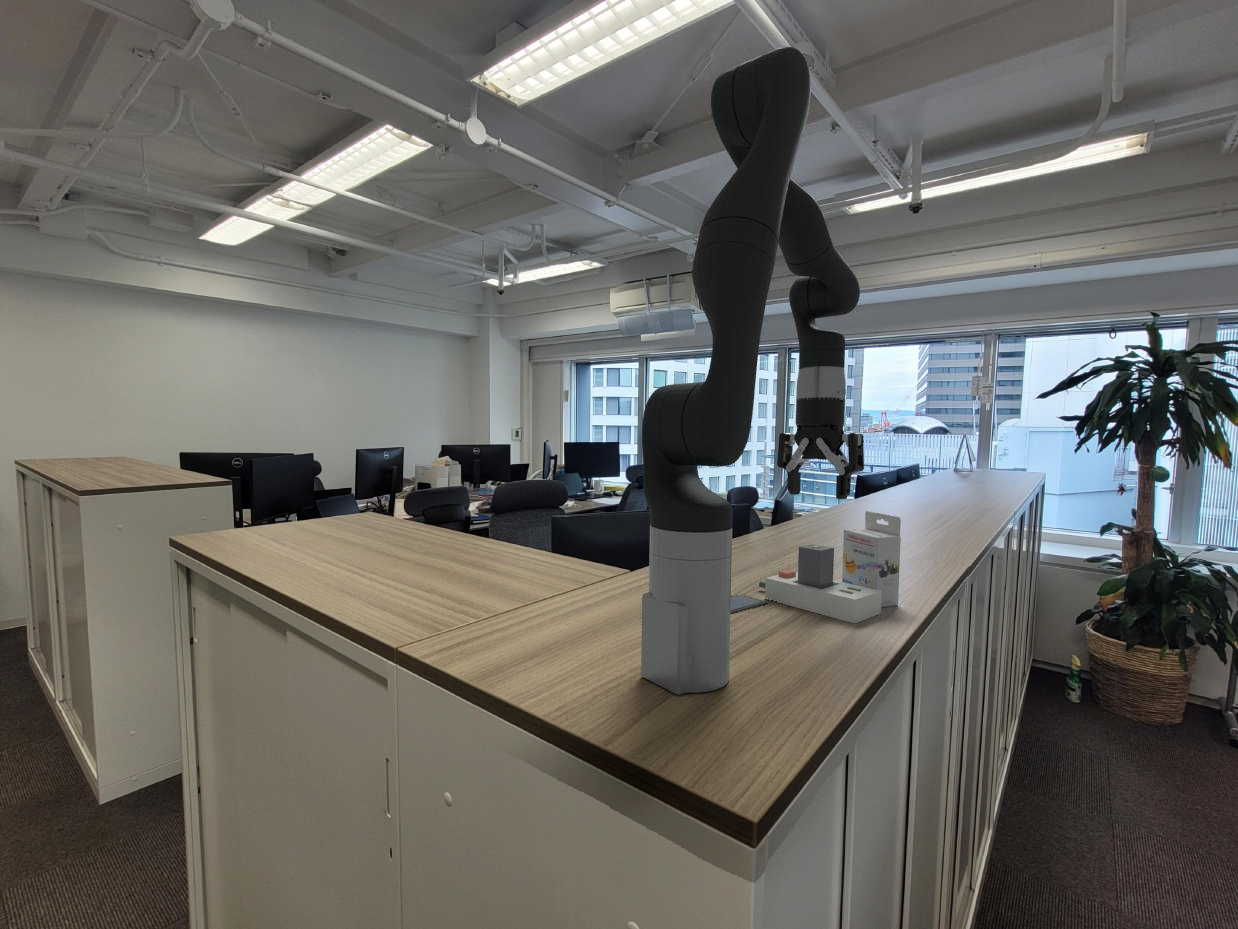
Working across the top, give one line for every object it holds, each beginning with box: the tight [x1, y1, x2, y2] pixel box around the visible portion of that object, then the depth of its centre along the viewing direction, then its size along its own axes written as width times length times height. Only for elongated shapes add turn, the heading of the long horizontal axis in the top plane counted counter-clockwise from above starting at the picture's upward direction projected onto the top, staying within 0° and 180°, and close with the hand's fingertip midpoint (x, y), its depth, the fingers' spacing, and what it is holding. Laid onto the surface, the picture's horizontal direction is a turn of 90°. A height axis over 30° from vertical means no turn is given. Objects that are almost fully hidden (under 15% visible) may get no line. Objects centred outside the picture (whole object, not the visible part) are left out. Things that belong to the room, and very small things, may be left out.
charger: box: [797, 543, 835, 589], centre depth 92 cm, size 4×4×9 cm
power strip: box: [758, 569, 882, 624], centre depth 93 cm, size 8×20×4 cm, turn 39°
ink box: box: [841, 510, 902, 608], centre depth 95 cm, size 8×5×15 cm, turn 17°
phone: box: [730, 594, 769, 615], centre depth 91 cm, size 12×6×1 cm, turn 127°
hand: (817, 496), depth 91 cm, fingers open, 8 cm apart
